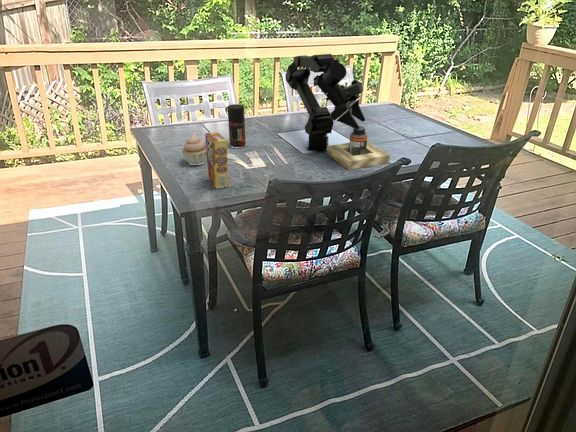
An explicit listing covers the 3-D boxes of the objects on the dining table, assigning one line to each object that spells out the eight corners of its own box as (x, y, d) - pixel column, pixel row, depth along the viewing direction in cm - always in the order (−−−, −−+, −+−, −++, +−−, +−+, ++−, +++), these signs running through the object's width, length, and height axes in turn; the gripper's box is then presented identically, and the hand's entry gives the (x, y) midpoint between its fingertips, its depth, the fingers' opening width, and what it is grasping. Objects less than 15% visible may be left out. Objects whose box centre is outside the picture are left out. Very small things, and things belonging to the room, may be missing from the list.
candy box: (230, 187, 143) (227, 139, 136) (216, 189, 142) (213, 142, 134) (220, 176, 150) (217, 131, 143) (207, 178, 149) (203, 133, 141)
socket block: (348, 170, 155) (348, 161, 154) (326, 153, 168) (327, 145, 167) (388, 163, 161) (389, 155, 159) (365, 147, 174) (365, 140, 172)
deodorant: (238, 141, 179) (236, 103, 171) (248, 145, 175) (247, 106, 168) (226, 145, 175) (224, 106, 168) (236, 149, 171) (234, 109, 164)
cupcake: (207, 156, 166) (205, 129, 161) (212, 165, 158) (210, 137, 153) (181, 159, 163) (178, 131, 158) (184, 169, 155) (181, 140, 150)
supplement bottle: (354, 153, 168) (356, 123, 163) (368, 157, 165) (371, 127, 160) (345, 158, 164) (347, 127, 159) (359, 162, 161) (362, 131, 155)
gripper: (342, 79, 144) (374, 117, 146) (356, 68, 160) (384, 103, 162) (317, 102, 150) (348, 138, 152) (332, 89, 166) (360, 122, 168)
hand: (361, 124), depth 158 cm, fingers open, 9 cm apart
